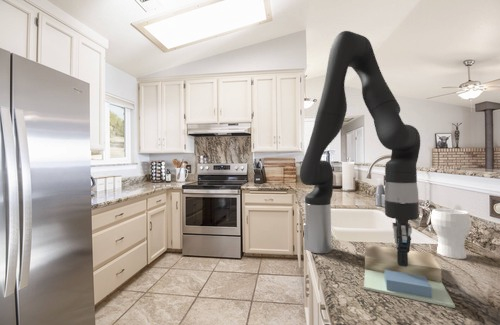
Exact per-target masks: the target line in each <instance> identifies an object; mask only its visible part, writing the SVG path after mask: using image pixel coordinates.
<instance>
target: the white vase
mask: <svg viewBox="0 0 500 325" xmlns="http://www.w3.org/2000/svg"><path fill="white" fill-rule="evenodd" d="M430 219H431V220H430V222H431V226H432V228H433V230H434V232H435V233H436V236H437V237H436V238H437V240H438V243H437V249H436V253H437V254H438V255H440V256H443V257H446V258H450V259H455V260H456V259H459V260H462V259H464V260H465V259H467V253H466V249H465V248H466V247H465V242H466V239H467V237H468V236H469V234H470V232H471V229H472V218H471V214H470V212H469V211H466V210H461V209H454V208H433V209H432V212H431V215H430Z"/></svg>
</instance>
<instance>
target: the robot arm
mask: <svg viewBox="0 0 500 325" xmlns="http://www.w3.org/2000/svg"><path fill="white" fill-rule="evenodd" d="M348 68H352V69H353V71H354V72H355V73H356V74H357V75H358V77H359V80H360V83H361V94H362V99H363V102H364V104H365V106H366V108H367V110H368V113H369V114H370V116H371V118H372V119H373V125H374V128H375V132H376V136H377V138H378V141H379V142H380V144H381V145H382V146H383V147H384V148H386V149H387V150H391V156H390V157H391V158H390V159H389V160H388V161H386V162H385V167H384V172H385V173H384V174H385V176H384V177H385V178H384V182H385V184H384V215H385V216H386V217H387V218H389V219H395V222H392V230H393V239H394V243H395V249H396V250H397V262H398V265H399V266H405V267H407V266H408V252H409V251H411V241H412V237H411V235H412V231H413V229H412V226H411V224H410V223H409V221H410V220H411V221H414V220H418V219H419V217H420V212H419V210H420V207H419V205H420V204H419V188H418V184H417V182H418V177H417V176H418V175H417V172H418V171H417V163H418V159H419V154H420V150H421V135H420V132H419V129H417V128H416V127H415V126H413V125H411V124H405V123H404V121H403V119H402V118H401V116H400V113H401V107H400V104H399V103H398V100H397V99H396V97H395V96H394V95H395V94H393V92H392V90H391V89H390V87H389V86H388V84H387V82H386V80H385V77H384V75H383V73H382V71H381V69H380V66H379V63H378V61H377V59H376V55H375V51H374V49H373V46H372V44H371V42H370V40H369V38H367V37H366V36H364V35H361V34H359V33H356V32H353V31H350V30H343V31H340V32H339V33H338V34H337V35H336V37H335V38H334V39H333V41H332V44H331V47H330V50H329V56H328V61H327V67H326V73H325V80H324V85H323V89H322V93H321V96H320V100H319V105H318V108H317V110H316V114H315V119H314V124H313V129H312V132H311V135H310V138H309V139H310V140H309V143H308V146H307V148H306V151H305V154H304V157H303V159H302V162H301V165H300V168H299V169H300V170H299V178H300V181H301V182H302V184H303V185H305V186H314V187H313V189H312V191H310V192H309V193H307V194H306V195H305V198H304V210H305V211H304V214H305V215H304V218H305V219H304V220H305V222H304V223H303V245H304V246H303V247H304V248H303V249H304V250H305V251H309V252H311V253H314V254H328V253H330V252H332V222H331V221H332V209H331V208H332V206H331V204H332V203H331V201H332V200H331V199H332V197H333V190H334V171H333V170H334V169H333V167H332V165H331V163H330V161H328V160H322V157H323V154H324V152H325V150H327V149H328V147H329V145H331V143H332V142H333V141H334V140H335V138H336V137H337V136H338V135H339V133H340V132H341V129H342V128H343V124H344V121H345V118H346V115H347V109H348V105H347V96H346V90H345V89H346V88H345V82H346V76H347V74H348Z"/></svg>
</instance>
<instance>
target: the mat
mask: <svg viewBox="0 0 500 325" xmlns="http://www.w3.org/2000/svg"><path fill="white" fill-rule="evenodd" d="M363 277H364V279H363V290H366V291H371V292H377V293H380V294H386V295H390V296H393V297H400V298H405V299H408V300H412V301H413V300H414V301H418V302H419V301H420V302H423V303H429V304H434V305H438V306H444V307H448V308H453V309H456V305H455V303H454V301H453V300H452V298H451V296H450V294H449V292H448V290H447V289H446V287H445V285H444V284H443V282H442V281H441V282H435V281H429V280H428V282H429V284H430V286H431V289H432V298H427V297H422V296H417V295H411V294H406V293H401V292H395V291H390V290H387V288H386V283H385V273H383V272H377V271H371V270H366V269H365V268H364V276H363Z"/></svg>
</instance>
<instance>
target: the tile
mask: <svg viewBox="0 0 500 325" xmlns="http://www.w3.org/2000/svg"><path fill="white" fill-rule="evenodd" d="M385 283H386V288H387V290H390V291H395V292H401V293H406V294H411V295H417V296H422V297H427V298H432V289H431V286H430V284H429V282H428V280H427V278H426V277H425V276H421V275H415V274H408V273H402V272H395V271H389V270H385Z"/></svg>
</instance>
